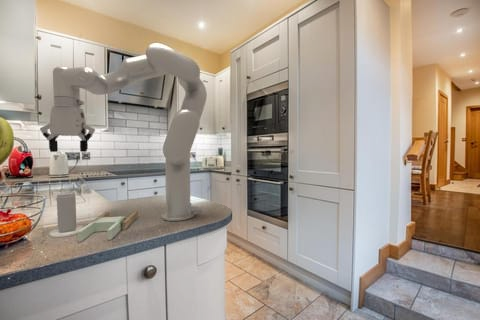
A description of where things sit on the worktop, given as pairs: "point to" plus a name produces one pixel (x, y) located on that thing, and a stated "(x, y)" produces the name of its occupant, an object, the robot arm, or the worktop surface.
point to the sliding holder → (102, 227)
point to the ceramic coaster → (58, 234)
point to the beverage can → (66, 211)
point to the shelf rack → (126, 222)
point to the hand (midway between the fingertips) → (68, 151)
